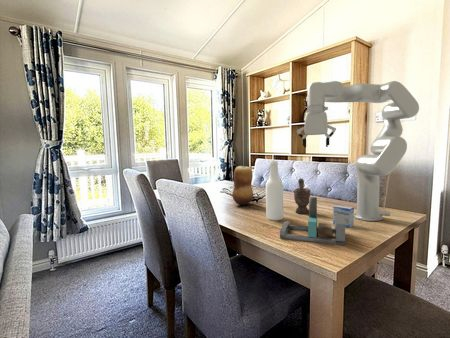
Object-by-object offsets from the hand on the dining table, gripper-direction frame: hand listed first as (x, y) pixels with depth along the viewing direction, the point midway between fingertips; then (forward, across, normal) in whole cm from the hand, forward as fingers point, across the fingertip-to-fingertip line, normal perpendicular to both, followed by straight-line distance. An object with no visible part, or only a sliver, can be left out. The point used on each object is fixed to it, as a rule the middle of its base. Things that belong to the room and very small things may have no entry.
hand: (315, 147), depth 117 cm
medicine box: (+37, -12, +1) cm, 39 cm away
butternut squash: (+36, +45, -25) cm, 63 cm away
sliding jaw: (+35, +1, +19) cm, 39 cm away
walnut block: (+36, -4, +19) cm, 41 cm away
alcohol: (+36, +20, -1) cm, 42 cm away
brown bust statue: (+36, +7, -14) cm, 40 cm away
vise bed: (+36, +1, +19) cm, 41 cm away
